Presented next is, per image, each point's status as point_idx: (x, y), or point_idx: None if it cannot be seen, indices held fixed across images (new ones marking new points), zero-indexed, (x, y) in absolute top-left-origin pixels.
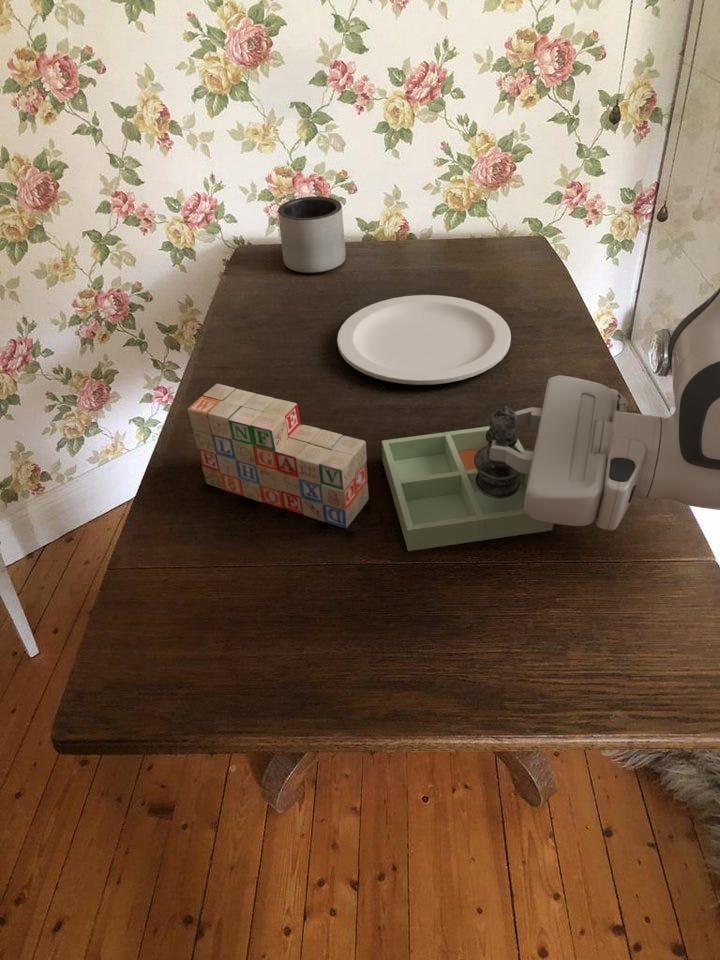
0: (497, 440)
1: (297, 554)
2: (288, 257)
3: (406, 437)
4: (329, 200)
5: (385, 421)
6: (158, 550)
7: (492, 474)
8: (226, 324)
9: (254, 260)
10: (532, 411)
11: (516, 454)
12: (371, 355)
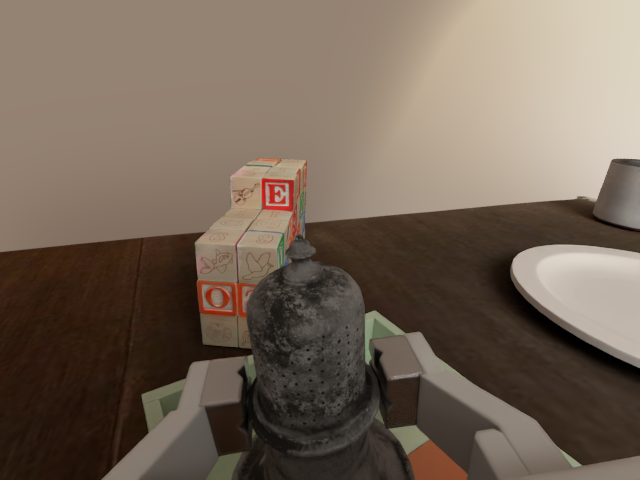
0: (238, 363)
1: (152, 318)
2: (597, 202)
3: (403, 332)
4: None
5: (456, 325)
6: (165, 247)
7: (243, 477)
8: (475, 212)
9: (572, 204)
10: (505, 432)
11: (133, 458)
12: (557, 279)
